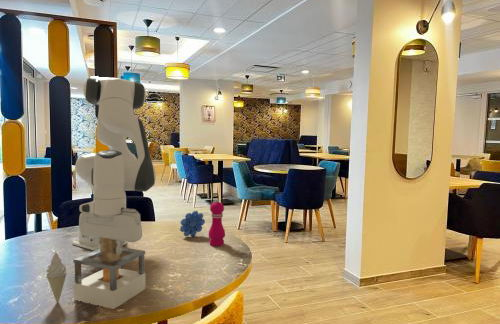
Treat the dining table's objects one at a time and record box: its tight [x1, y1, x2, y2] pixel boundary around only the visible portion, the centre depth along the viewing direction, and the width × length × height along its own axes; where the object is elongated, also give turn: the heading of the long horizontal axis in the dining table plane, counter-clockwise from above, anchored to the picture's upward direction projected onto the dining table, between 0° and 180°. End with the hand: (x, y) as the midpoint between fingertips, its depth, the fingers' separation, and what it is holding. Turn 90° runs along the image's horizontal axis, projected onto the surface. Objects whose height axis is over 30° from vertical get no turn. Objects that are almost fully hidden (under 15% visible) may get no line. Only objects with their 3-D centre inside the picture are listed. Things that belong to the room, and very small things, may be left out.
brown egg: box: [102, 267, 120, 282], centre depth 108 cm, size 4×4×5 cm
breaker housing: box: [73, 267, 146, 310], centre depth 108 cm, size 14×14×5 cm
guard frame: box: [72, 246, 146, 291], centre depth 107 cm, size 14×14×7 cm
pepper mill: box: [208, 198, 226, 247], centre depth 157 cm, size 7×7×20 cm
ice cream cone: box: [45, 250, 68, 303], centre depth 102 cm, size 5×5×15 cm
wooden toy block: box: [101, 238, 121, 262], centre depth 107 cm, size 4×4×9 cm
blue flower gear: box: [179, 210, 206, 237], centre depth 169 cm, size 12×7×12 cm, turn 112°
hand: (110, 252), depth 107 cm, fingers closed on wooden toy block, 3 cm apart
